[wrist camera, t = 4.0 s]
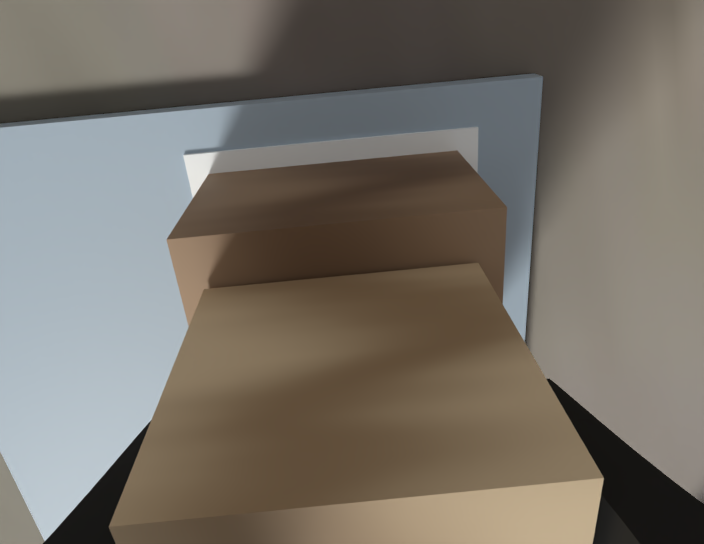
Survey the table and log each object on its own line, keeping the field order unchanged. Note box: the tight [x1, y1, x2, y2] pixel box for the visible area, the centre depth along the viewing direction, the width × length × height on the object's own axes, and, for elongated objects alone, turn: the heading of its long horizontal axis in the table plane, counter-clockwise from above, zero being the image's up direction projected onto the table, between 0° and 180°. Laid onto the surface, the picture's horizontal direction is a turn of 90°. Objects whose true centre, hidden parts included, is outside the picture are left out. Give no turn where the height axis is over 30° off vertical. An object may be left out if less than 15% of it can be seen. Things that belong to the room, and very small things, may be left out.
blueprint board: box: [0, 73, 543, 541], centre depth 16 cm, size 16×15×1 cm
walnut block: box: [166, 150, 507, 326], centre depth 13 cm, size 6×6×4 cm
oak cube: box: [109, 263, 604, 544], centre depth 9 cm, size 5×5×5 cm
